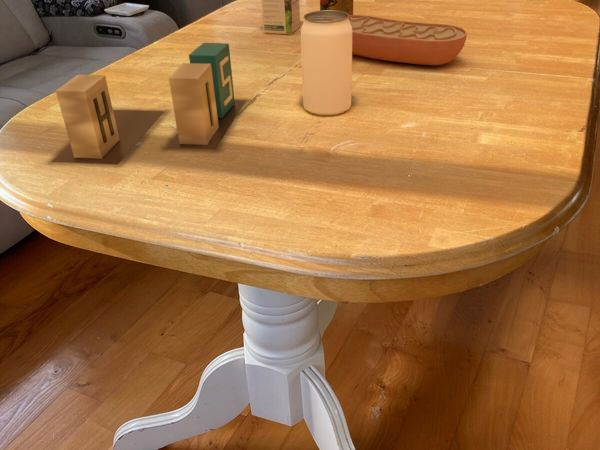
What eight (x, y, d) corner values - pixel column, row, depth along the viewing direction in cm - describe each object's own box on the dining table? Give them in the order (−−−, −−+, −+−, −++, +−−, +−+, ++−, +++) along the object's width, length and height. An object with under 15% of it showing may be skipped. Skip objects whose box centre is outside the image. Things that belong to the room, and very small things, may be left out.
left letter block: (53, 169, 66) (30, 93, 61) (109, 116, 79) (93, 49, 74) (119, 172, 65) (101, 95, 60) (165, 118, 77) (153, 50, 72)
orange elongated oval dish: (470, 59, 93) (474, 27, 90) (449, 79, 86) (453, 45, 83) (343, 41, 103) (343, 12, 100) (314, 58, 96) (314, 27, 93)
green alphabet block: (197, 116, 75) (188, 54, 70) (211, 102, 79) (203, 42, 74) (223, 118, 74) (216, 55, 69) (236, 103, 78) (230, 43, 74)
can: (344, 119, 75) (344, 24, 68) (296, 114, 77) (292, 21, 70) (356, 101, 80) (358, 10, 73) (311, 96, 82) (309, 8, 75)
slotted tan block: (167, 155, 68) (153, 80, 63) (204, 105, 81) (195, 40, 76) (216, 157, 67) (207, 81, 62) (246, 107, 80) (240, 40, 75)
